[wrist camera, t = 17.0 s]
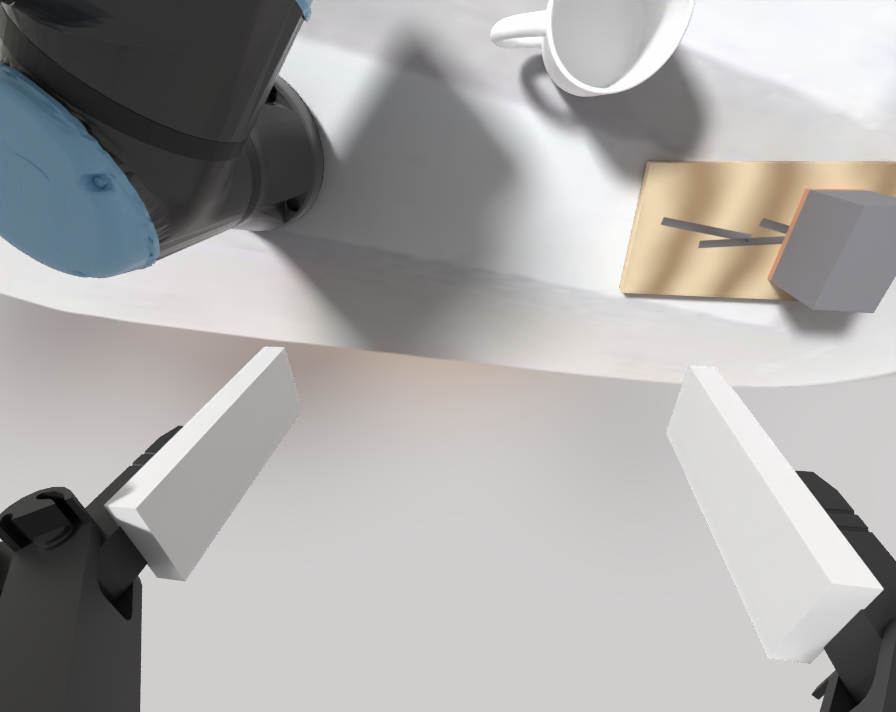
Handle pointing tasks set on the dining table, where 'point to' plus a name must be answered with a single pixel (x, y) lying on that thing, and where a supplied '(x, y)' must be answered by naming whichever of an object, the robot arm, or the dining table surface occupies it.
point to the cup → (599, 40)
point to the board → (727, 222)
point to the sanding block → (839, 250)
